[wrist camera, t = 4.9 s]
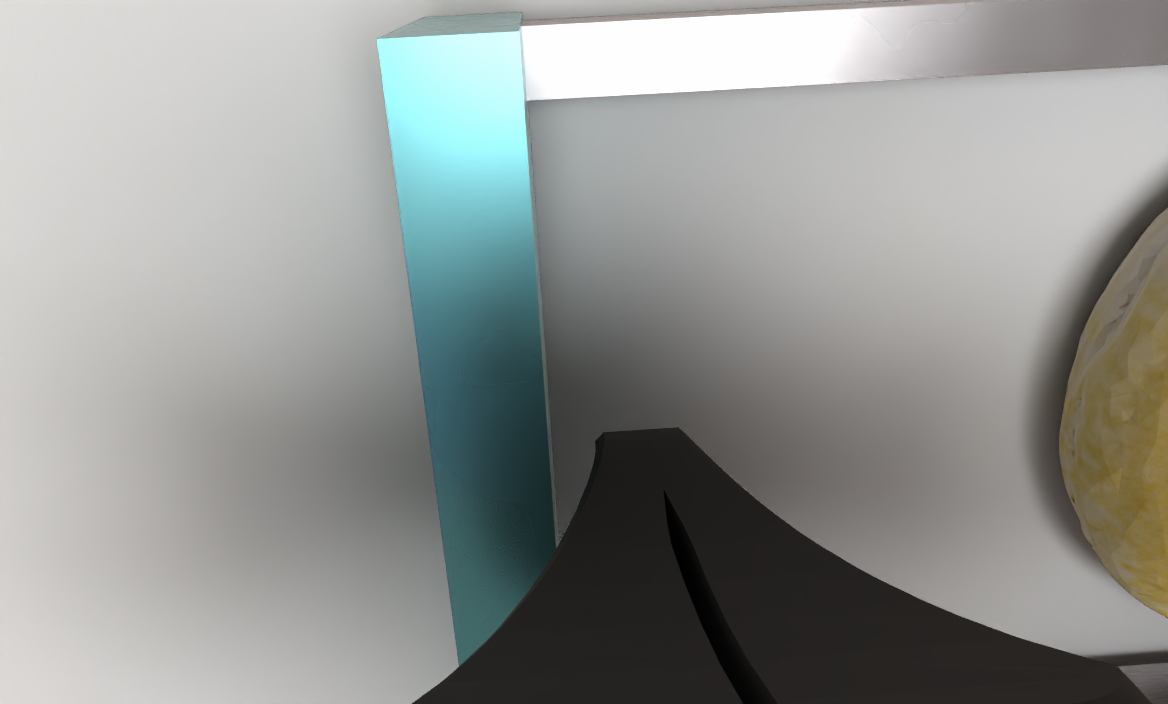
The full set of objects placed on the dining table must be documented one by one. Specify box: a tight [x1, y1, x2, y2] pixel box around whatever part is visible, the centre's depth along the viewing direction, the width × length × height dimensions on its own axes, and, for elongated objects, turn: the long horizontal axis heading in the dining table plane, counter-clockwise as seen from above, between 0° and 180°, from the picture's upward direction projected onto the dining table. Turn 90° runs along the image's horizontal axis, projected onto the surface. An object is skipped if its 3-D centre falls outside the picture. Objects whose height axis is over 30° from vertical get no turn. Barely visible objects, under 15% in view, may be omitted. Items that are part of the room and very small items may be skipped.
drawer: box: [377, 0, 1168, 704], centre depth 12 cm, size 12×19×4 cm, turn 93°
